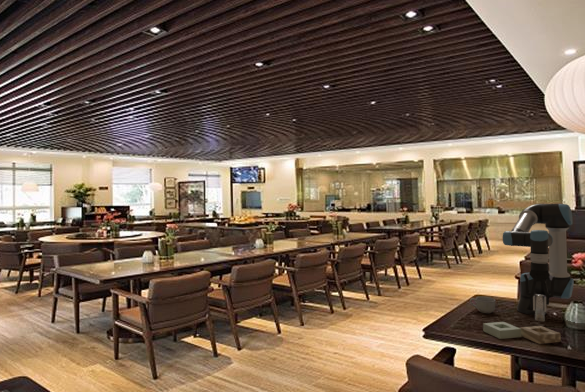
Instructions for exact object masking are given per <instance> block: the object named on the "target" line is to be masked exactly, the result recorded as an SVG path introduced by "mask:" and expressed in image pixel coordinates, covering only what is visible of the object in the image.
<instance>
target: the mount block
mask: <svg viewBox="0 0 585 392" xmlns="http://www.w3.org/2000/svg"><path fill="white" fill-rule="evenodd" d="M519 328H520V329H521V338H525V339H527V340H530V341H532V342H534V343H536V344H538V345H542V344H551V343H561V338H562V337H561V333H560V332H559V331H558V332H557V331H556V330H552V329H550V328H548V327H544V326H541V325H534V326H523V327H521V326H520V327H519Z"/></svg>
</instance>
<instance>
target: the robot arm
mask: <svg viewBox="0 0 585 392" xmlns="http://www.w3.org/2000/svg"><path fill="white" fill-rule="evenodd" d="M536 224H540V225H545V226H544V227H545V228H546V229H547V230H548V231H547V230H545V229H532V227H533V226H534V225H536ZM573 224H574V220H573V213H572V209H571V207H570V205H569V204H568V203H535V204H532V205H529V206H527V207H526V208H524V209H523V210H521V212H520V213H519V215H518V220H517V222H516V223H515V225H514V226H513V227H512V229H511V230H505V231H503V233H502V244H503V245H505V246H510V247H527V248H530V254H529V255H530V261H531V262H530V271H529V272H524V273H521V274H520V276H519V277H520V278H519V279H520V280H519V282H520V283H519V284H520V285H519V286H520V287H519V288H520V291H519V293H520V295H519V296H520V298H519V301H518V304H517V306H516V309H517V312H519V313H522V314H525V315H532V316H533V315H534V316H535V294H541V295H544V296H545V297H544V312H545V315H546V314H547V306H549V305H550V298H558V299H566V300H568V299H571V297H572V294H573V290H574V286H575V285H574V283H575V282H574V278H571V274H570V273H569V272H568V256H567V253H568V251H567V250H568V249H567V247H568V245H567V231H568V230H569V229H570V226H572V225H573ZM531 229H532V230H531ZM530 230H531V231H530Z"/></svg>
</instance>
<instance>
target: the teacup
mask: <svg viewBox="0 0 585 392" xmlns="http://www.w3.org/2000/svg"><path fill="white" fill-rule="evenodd" d="M472 301H474V302H475V304H474V303H473V302H472ZM469 303H470V305H471V306H473V307H474V308H475V309H477V310H478V311H479V312H480V313H482V314H492V313H493V312H495V310H496V299H494V297H493V298H492V297H489V296H476V297H475V298H474V297H471V298H470V300H469Z"/></svg>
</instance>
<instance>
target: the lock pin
mask: <svg viewBox="0 0 585 392" xmlns="http://www.w3.org/2000/svg"><path fill="white" fill-rule="evenodd" d="M545 315H546V314H545V312H544V295H541V294H535V315H534V321H537V322H545V321H546V320H545V319H546V317H545Z"/></svg>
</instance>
